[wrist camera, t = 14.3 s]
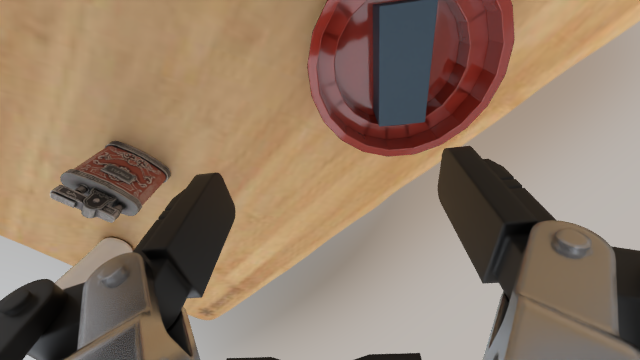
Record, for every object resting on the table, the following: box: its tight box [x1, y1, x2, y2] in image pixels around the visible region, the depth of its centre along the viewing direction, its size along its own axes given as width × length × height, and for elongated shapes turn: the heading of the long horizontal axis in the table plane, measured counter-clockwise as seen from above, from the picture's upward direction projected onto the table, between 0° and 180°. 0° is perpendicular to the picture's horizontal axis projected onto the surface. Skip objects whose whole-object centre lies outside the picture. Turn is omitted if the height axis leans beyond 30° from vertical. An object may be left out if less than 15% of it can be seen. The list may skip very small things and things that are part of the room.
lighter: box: [50, 141, 171, 223], centre depth 31 cm, size 8×3×10 cm, turn 54°
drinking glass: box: [55, 238, 133, 290], centre depth 40 cm, size 7×7×15 cm
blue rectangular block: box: [373, 0, 438, 127], centre depth 25 cm, size 10×4×4 cm, turn 7°
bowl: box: [307, 0, 514, 156], centre depth 25 cm, size 17×17×6 cm
